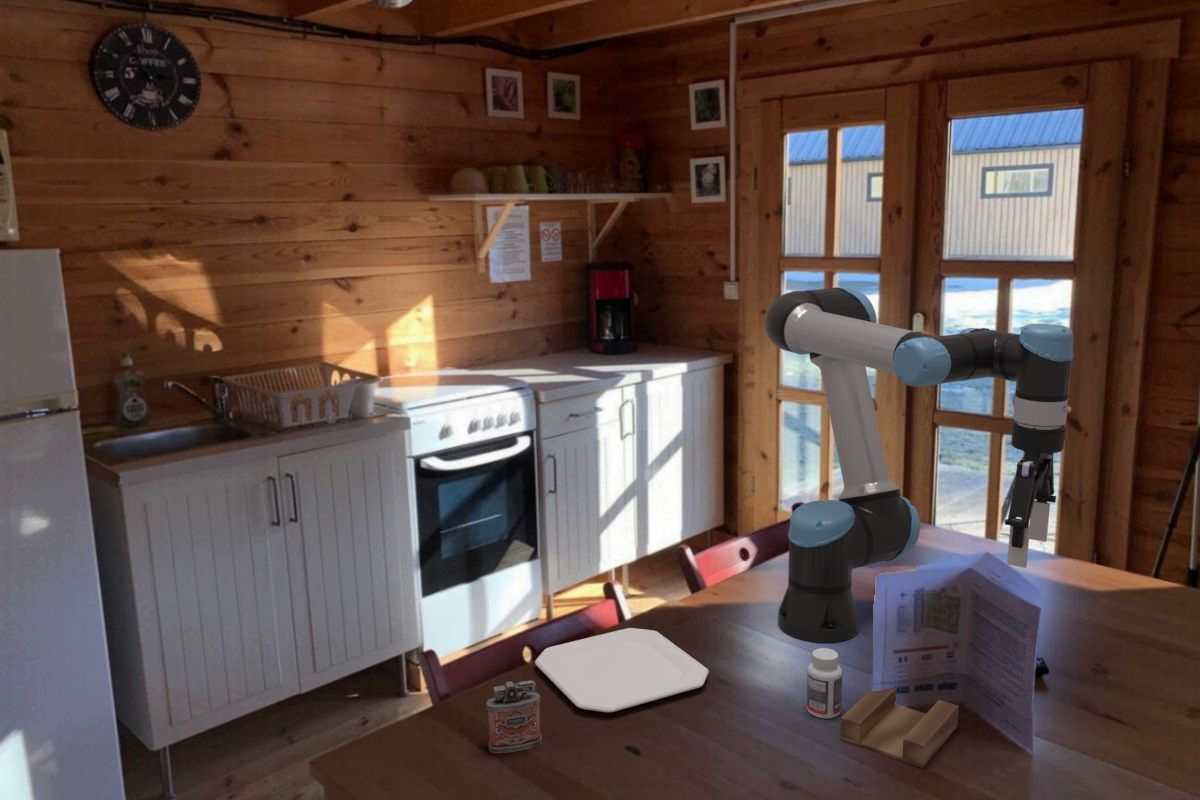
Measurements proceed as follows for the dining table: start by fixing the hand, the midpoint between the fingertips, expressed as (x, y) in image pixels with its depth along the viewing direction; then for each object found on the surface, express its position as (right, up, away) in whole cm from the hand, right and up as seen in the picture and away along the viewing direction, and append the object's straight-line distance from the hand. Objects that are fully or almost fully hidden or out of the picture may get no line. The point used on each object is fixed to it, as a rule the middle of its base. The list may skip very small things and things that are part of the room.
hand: (1027, 552), depth 155 cm
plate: (-65, -23, +11) cm, 70 cm away
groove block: (-23, -26, -9) cm, 36 cm away
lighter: (-82, -27, -10) cm, 87 cm away
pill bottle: (-33, -25, -2) cm, 42 cm away
